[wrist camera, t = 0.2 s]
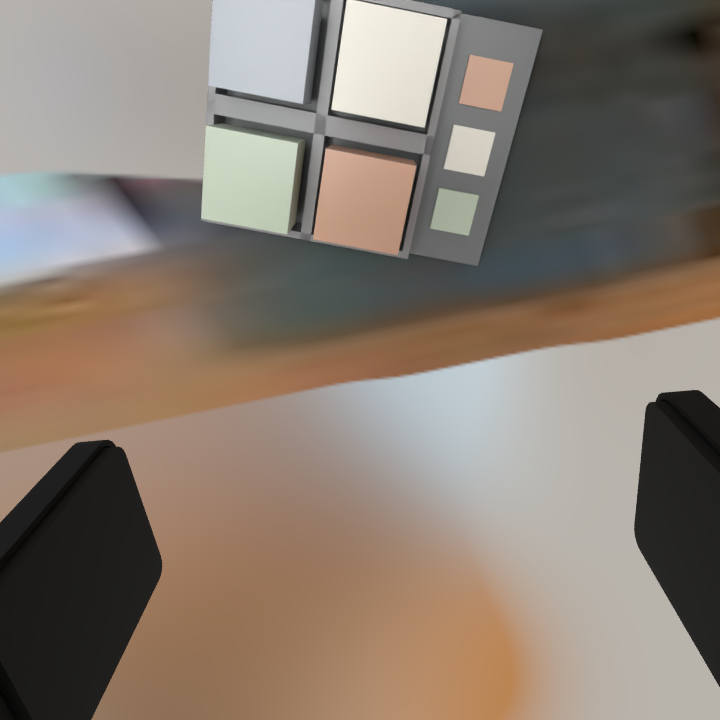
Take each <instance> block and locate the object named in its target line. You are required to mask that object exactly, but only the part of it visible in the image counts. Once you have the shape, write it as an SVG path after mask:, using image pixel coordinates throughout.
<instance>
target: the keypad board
mask: <svg viewBox="0 0 720 720" xmlns="http://www.w3.org/2000/svg"><path fill="white" fill-rule="evenodd" d="M356 1H361V2H366V3H371V4H376V5H381V6H386V7H391V8H396V9H401V10H406V11H411V12H415V13H420V14H425V15H430V16H435V17H440V18H445V19H447V23H446V28H445V33H444V38H443V42H442V47H441V52H440V57H439V61H438V66H437V71H436V76H435V80H434V85H433V90H432V95H431V99H430V104H429V109H428V114H427V119H426V123H425V128H423V127H418V126H413V125H408V124H403V123H398V122H393V121H387V120H382V119H377V118H372V117H367V116H362V115H357V114H351V113H346V112H341V111H336V110H331V108H332V101H333V94H334V87H335V80H336V73H337V66H338V59H339V52H340V44H341V37H342V30H343V23H344V16H345V9H346V2H347V0H322V2H323V9H322V17H321V25H320V33H319V41H318V49H317V57H316V65H315V73H314V81H313V89H312V97H311V104H300V103H295V102H290V101H285V100H280V99H275V98H269V97H264V96H259V95H254V94H249V93H244V92H239V91H233V90H228V89H223V88H218V87H213V86H208V96H207V115H206V126H207V125H214V124H221V123H224V124H229V125H234V126H239V127H245V128H250V129H255V130H260V131H265V132H271V133H276V134H281V135H286V136H291V137H296V138H302V139H306V144H305V152H304V160H303V168H302V176H301V184H300V192H299V200H298V208H297V216H296V223H295V225H294V226H293V227H292V229H291V230H290V231H289V233H288V234H282V233H276V232H271V231H266V230H260V229H255V228H250V227H244V226H239V225H234V224H228V223H223V222H217V221H212V220H207V219H201V221H206V222H211V223H217V224H222V225H227V226H233V227H238V228H243V229H249V230H254V231H259V232H265V233H270V234H275V235H281V236H286V237H292V238H297V239H302V240H308V241H313V242H318V243H324V244H329V245H334V246H340V247H345V248H350V249H356V250H361V251H367V252H372V253H377V254H383V255H388V256H393V257H399V258H404V259H408V256H409V253H410V254H416V255H421V256H426V257H432V258H437V259H442V260H448V261H453V262H458V263H464V264H469V265H474V266H478V263H479V260H480V256H481V252H482V249H483V245H484V242H485V238H486V234H487V231H488V227H489V223H490V220H491V216H492V213H493V209H494V205H495V202H496V198H497V194H498V191H499V187H500V184H501V180H502V176H503V173H504V169H505V165H506V162H507V158H508V155H509V151H510V147H511V144H512V140H513V136H514V133H515V129H516V126H517V122H518V118H519V115H520V111H521V107H522V104H523V100H524V97H525V93H526V89H527V86H528V82H529V78H530V75H531V71H532V68H533V64H534V60H535V57H536V53H537V49H538V46H539V42H540V39H541V35H542V31H543V30H542V29H537V28H532V27H527V26H522V25H517V24H512V23H507V22H502V21H497V20H492V19H487V18H482V17H477V16H472V15H468V14H463V13H462V10H457V9H452V8H447V7H442V6H437V5H432V4H427V3H422V2H417V1H412V0H356ZM212 2H213V0H212ZM211 21H212V19H211ZM210 40H211V38H210ZM209 59H210V57H209ZM208 79H209V78H208ZM205 135H206V134H205ZM331 144H333V145H338V146H343V147H348V148H354V149H359V150H364V151H369V152H374V153H379V154H385V155H390V156H395V157H400V158H405V159H411V160H414V161H415V164H416V171H415V176H414V180H413V185H412V190H411V195H410V199H409V204H408V209H407V214H406V219H405V223H404V228H403V233H402V238H401V242H400V247H399V252H398V255H394V254H389V253H383V252H378V251H373V250H367V249H362V248H357V247H351V246H346V245H341V244H335V243H330V242H325V241H319V240H314V239H313V236H314V229H315V222H316V215H317V208H318V201H319V194H320V187H321V179H322V172H323V165H324V158H325V151H326V148H327V147H329V146H330V145H331ZM204 155H205V154H204ZM203 174H204V172H203ZM202 194H203V192H202ZM201 213H202V211H201Z"/></svg>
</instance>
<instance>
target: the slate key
mask: <svg viewBox="0 0 720 720" xmlns="http://www.w3.org/2000/svg"><path fill="white" fill-rule="evenodd" d="M322 9H323V2H322V0H213V2H212V21H211V40H210V59H209V79H208V86H213V87H218V88H223V89H228V90H233V91H239V92H244V93H249V94H254V95H259V96H264V97H269V98H275V99H280V100H285V101H290V102H295V103H300V104H311V97H312V89H313V81H314V73H315V65H316V57H317V49H318V41H319V33H320V25H321V17H322Z"/></svg>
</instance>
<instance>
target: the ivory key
mask: <svg viewBox="0 0 720 720" xmlns="http://www.w3.org/2000/svg"><path fill="white" fill-rule="evenodd" d="M446 23H447V19H445V18H440V17H435V16H430V15H425V14H420V13H415V12H411V11H406V10H401V9H396V8H391V7H386V6H381V5H376V4H371V3H366V2H361V1H356V0H347V2H346V9H345V16H344V23H343V30H342V37H341V44H340V52H339V59H338V66H337V73H336V80H335V87H334V94H333V101H332V108H331V110H336V111H341V112H346V113H351V114H357V115H362V116H367V117H372V118H377V119H382V120H387V121H393V122H398V123H403V124H408V125H413V126H418V127H423V128H425V123H426V119H427V114H428V109H429V104H430V99H431V95H432V90H433V85H434V80H435V76H436V71H437V66H438V61H439V57H440V52H441V47H442V42H443V38H444V33H445V28H446Z"/></svg>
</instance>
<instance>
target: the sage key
mask: <svg viewBox="0 0 720 720" xmlns="http://www.w3.org/2000/svg"><path fill="white" fill-rule="evenodd" d="M305 144H306V139H302V138H296V137H291V136H286V135H281V134H276V133H271V132H265V131H260V130H255V129H250V128H245V127H239V126H234V125H229V124H224V123H221V124H214V125H207V126H206V136H205V155H204V174H203V194H202V213H201V219H207V220H212V221H217V222H223V223H228V224H234V225H239V226H244V227H250V228H255V229H260V230H266V231H271V232H276V233H282V234H288V233H289V231H290V230H291V229H292V227H293V226H294V225H295V223H296V216H297V208H298V200H299V192H300V184H301V176H302V168H303V160H304V152H305Z"/></svg>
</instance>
